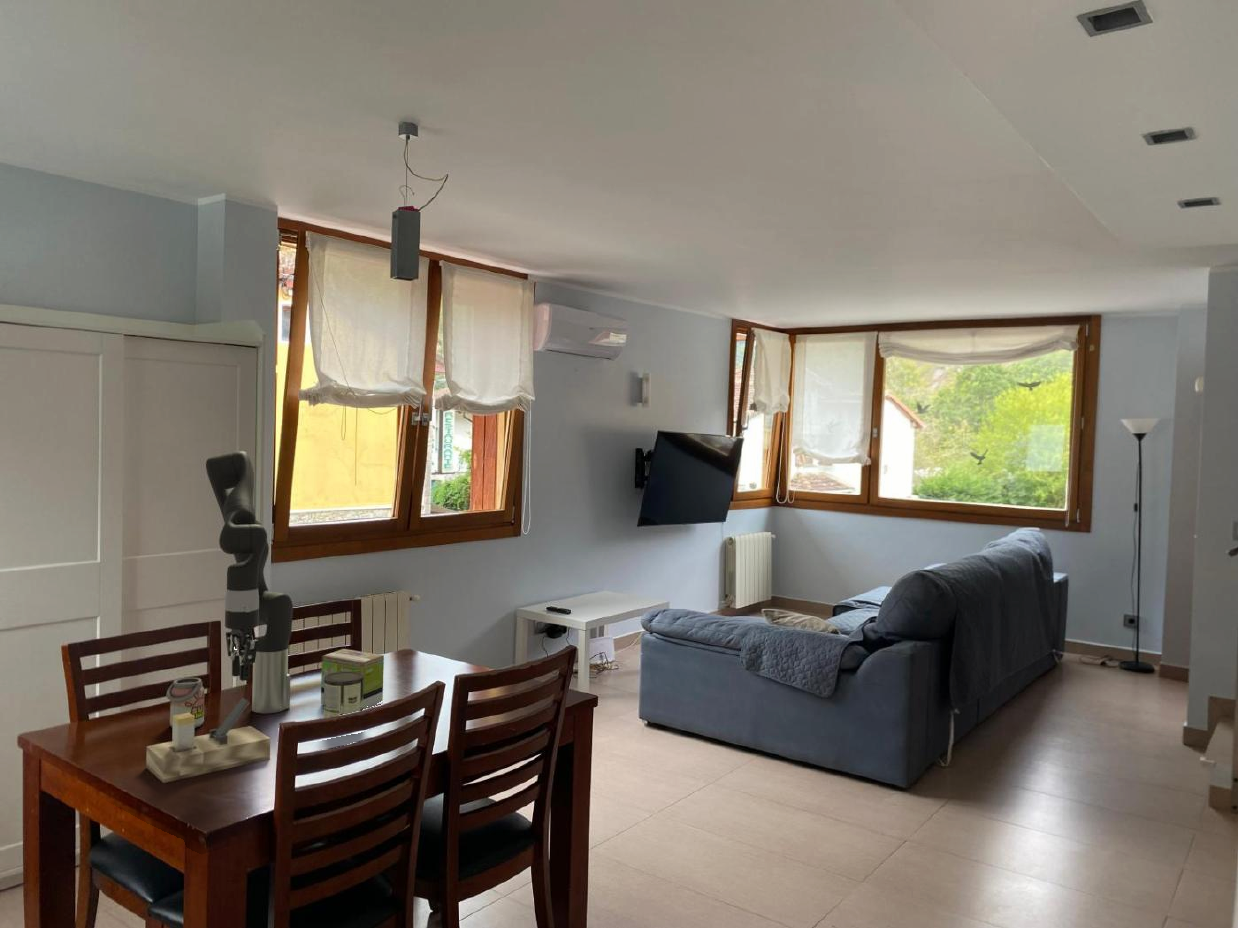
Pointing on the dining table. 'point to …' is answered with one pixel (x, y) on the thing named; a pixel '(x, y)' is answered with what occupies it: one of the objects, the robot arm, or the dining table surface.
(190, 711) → the beverage can
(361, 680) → the coffee can
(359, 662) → the tea box
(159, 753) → the block
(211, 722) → the dining table surface
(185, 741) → the pin
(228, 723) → the lever
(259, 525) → the robot arm
